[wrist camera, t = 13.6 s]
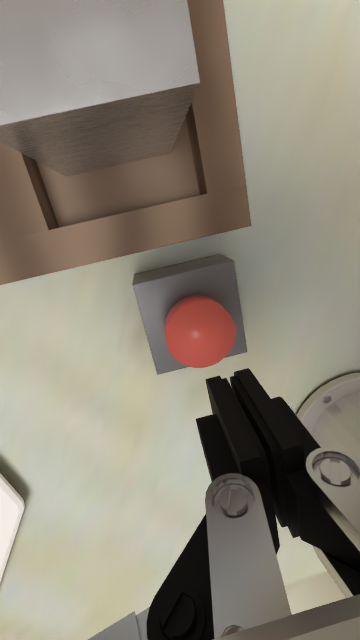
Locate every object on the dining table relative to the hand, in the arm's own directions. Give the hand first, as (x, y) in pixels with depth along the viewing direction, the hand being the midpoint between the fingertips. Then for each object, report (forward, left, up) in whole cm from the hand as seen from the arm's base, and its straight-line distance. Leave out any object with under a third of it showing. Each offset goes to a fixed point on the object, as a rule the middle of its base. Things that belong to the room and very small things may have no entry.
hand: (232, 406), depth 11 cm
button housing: (0, 0, -14) cm, 14 cm away
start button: (0, 0, -9) cm, 9 cm away
